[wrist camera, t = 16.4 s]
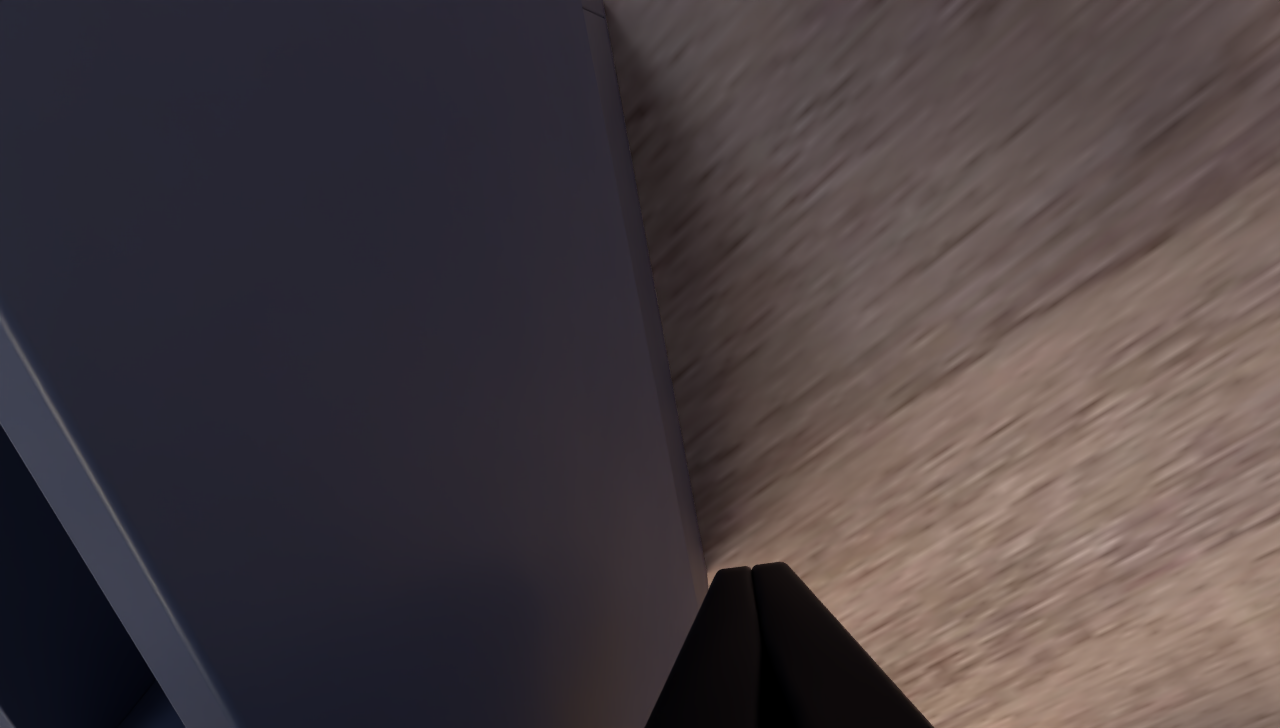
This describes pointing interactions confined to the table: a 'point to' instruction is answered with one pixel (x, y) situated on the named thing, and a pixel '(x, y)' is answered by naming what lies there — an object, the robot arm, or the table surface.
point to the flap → (340, 357)
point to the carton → (80, 612)
